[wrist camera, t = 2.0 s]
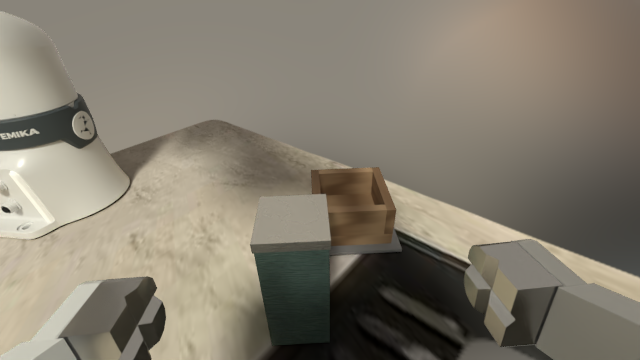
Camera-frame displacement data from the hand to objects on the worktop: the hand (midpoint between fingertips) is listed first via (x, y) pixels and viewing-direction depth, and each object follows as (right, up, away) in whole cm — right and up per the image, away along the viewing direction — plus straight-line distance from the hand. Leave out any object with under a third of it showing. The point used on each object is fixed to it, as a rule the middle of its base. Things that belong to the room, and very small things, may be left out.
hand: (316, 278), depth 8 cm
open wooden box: (+4, -3, +31) cm, 32 cm away
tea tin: (-2, -10, +21) cm, 23 cm away
